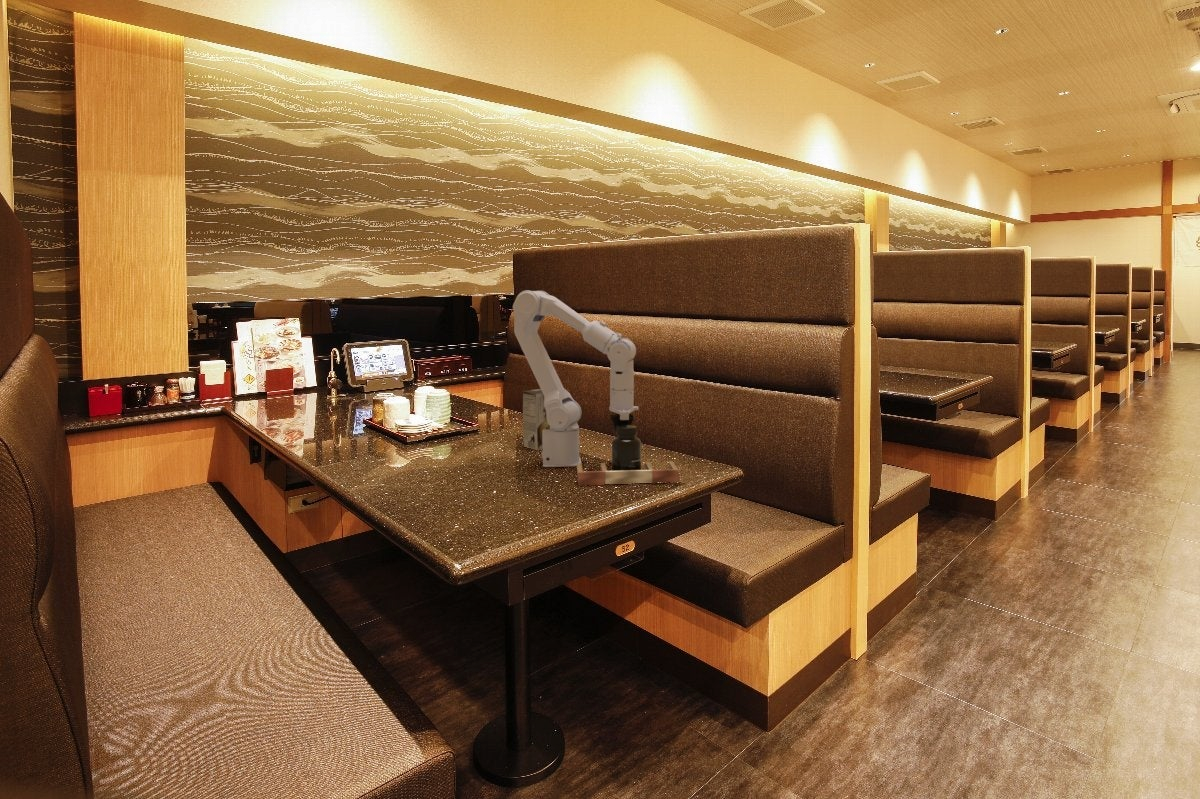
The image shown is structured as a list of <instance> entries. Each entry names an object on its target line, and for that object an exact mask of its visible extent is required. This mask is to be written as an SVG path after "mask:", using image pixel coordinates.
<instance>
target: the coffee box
mask: <svg viewBox="0 0 1200 799" xmlns="http://www.w3.org/2000/svg"><path fill="white" fill-rule="evenodd" d="M521 394H522V419H523V420H522V421H523V423H522V424H523V426H522V427H523V428H522V429H523V448H524V447H527V448H531V449H535V450H541V449H543V445H542V430H544V429H550V425H549V424H548V422H547V418H546V409H545V407H544V395H543V392H542V390H541V388H537V389H530V390H523V391H522V393H521ZM527 448H526V449H527ZM531 449H530V450H531ZM535 450H534V451H535ZM541 451H542V450H541Z"/></svg>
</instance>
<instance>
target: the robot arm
mask: <svg viewBox="0 0 1200 799" xmlns="http://www.w3.org/2000/svg"><path fill="white" fill-rule="evenodd" d="M512 310H513V314H514V318H513V319H514V321H513V323H514V324H513V326H514V327H513V332H514V335H515V338H516V339H517V341H518V344H519V346H520V348H521V351H522V352H523V354H524V356H525V358H526V361H527V363H528V365H529V367H530V369H531V371H532V373H533V376H534V378H535V380H536V381H537V384H538V386H539V389H541V390H542V392H543V395H544V407H545V409H546V418H547V422H548V424H549V425H550V429H544V430H542V445H543V450H542V451H541V459H542V467H543V468H559V467H561V468H562V467H565V468H566V467H577V463H582V458H581V457H580V426H579V424H578V422H579V421H580V419H581V418H582V408H581V406H580V404H579V403H578V402H577V401H576V400H574V398H573V397H572V394H571V393H570V392H569V391H568V390H567V389H566V388H565V387H564V386H563V383H562V381H561V379H560V377H559V375H558V373H557V370H556V369H555V366H554V364H553V362H552V360H551V358H550V356H549V354H548V351H547V349H546V348H545V346H544V344H543V341H542V339H541V337H540V335H539V333H538V330H539V328H540V326H541V324H542V321H543V320H544V319H545V317H555V318H557V319H559V320H560V321H562V322H564V323H565V324H567V325H569V327H572V328H573V329H575V330H576V331H578V332H579V333H581V335H582V339H583V341H584V342H585V343H588V344H589V345H590V346H592V347H593V348H595V349H596V350H598V351H599V352H601V353H602V354H604V355H607V356H606V357H607V358H608V359H607V360H609V361H610V371H609V409H608V410H609V411H610V412H612V413H615V414H610V415H609V418H610V419H611V421H612V424H613V428H614V429H613V430H614V435H615V438H616V437H617V435H616V427H617V426H620V425H632V424H633V421H634V418H635V417H634V414H633V413H632V412H634V411H638V410H639V406H637V405H634V402H635V400H634V398H635V396H634V394H635V388H634V387H635V386H634V385H635V381H634V380H635V379H634V378H635V376H634V375H635V371H634V358H635V356H636V355H637V347H636V345H635V343H634V342H633V341H632V340H631V339H630V338H628V337H622V336H623V335H622V334H621V333H620V332H617V333H616V332H615V331H614V330H611V329H610V328H609V327H607V326H606V325H607V323H606V322H605V321H604V320H603V321H598V320H593V321H589V320H588V319H586V318H585V317H584V316H582V315H581V314H580V313H578V312H577V311H575V310H574V309H572V308H571V307H570V306H568V305H567V304H566V303H564V302H563V301H562V300H561V299H558V298H557V297H556V296H554V295H550V294H549V293H548V292H546V291H545V290H529V289H528V290H527V289H526V290H522V291H521V292H519V294H518V295H517V296H516V298H515V300H514V302H513V304H512Z"/></svg>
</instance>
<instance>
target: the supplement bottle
mask: <svg viewBox="0 0 1200 799" xmlns="http://www.w3.org/2000/svg"><path fill="white" fill-rule="evenodd" d="M616 435H617V437H616ZM616 435H615V437H614V438H613V439H612V441H611V471H620V470H642V441H641V439H640V438H638V437H637V435H638V426H636V425H632V424H631V425H620V426H617V427H616Z"/></svg>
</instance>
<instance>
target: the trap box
mask: <svg viewBox="0 0 1200 799" xmlns="http://www.w3.org/2000/svg"><path fill="white" fill-rule="evenodd" d="M644 464H645V466H644V469H641V470H620V471H612V470H608V469H607V465H606V463H605V462H601V463H600V470H591V471H590V470H589V471H588V470H586V471H583V464H582V462H581V463H577V466H576V468H577V469H576V471H577V472H576V473H577V475H576V476H578V477H577V483H578V484H577V485H578V486H579V487H580V486H581V487H582V486H585V485H589V486H605V485H604V484H628V485H632V484H631V483H655V482H679V483H680V470H679V468H678V467H677V465H676V464H675V462H674V461H673V460H670V461H668V464H667V466H668V468H667V469H663V468H662V469H654V467H653V466H652V463H651V461H645V462H644Z"/></svg>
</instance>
